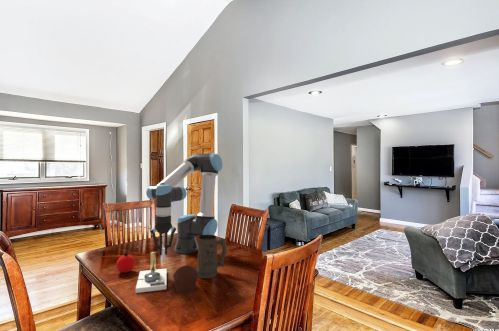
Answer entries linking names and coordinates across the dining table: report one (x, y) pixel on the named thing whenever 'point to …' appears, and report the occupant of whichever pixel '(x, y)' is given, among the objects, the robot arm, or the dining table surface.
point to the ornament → (125, 263)
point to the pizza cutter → (152, 270)
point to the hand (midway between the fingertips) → (163, 261)
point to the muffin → (185, 279)
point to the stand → (151, 286)
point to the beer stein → (209, 256)
